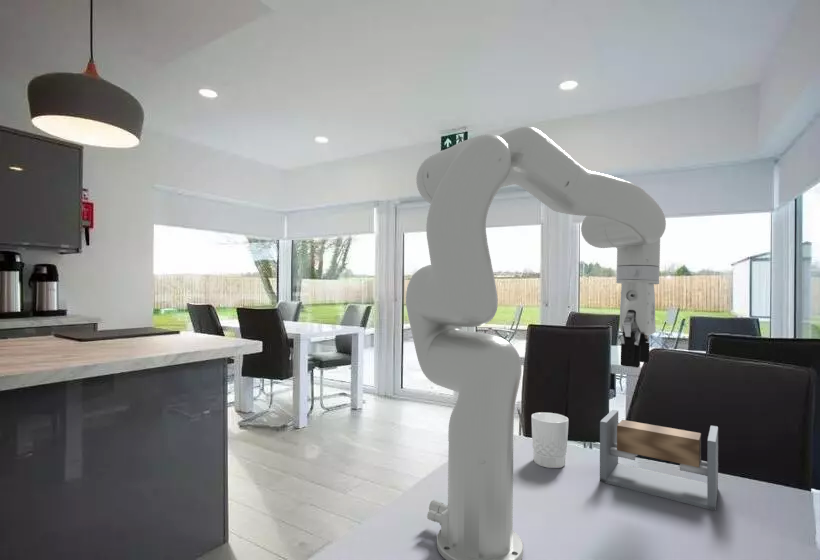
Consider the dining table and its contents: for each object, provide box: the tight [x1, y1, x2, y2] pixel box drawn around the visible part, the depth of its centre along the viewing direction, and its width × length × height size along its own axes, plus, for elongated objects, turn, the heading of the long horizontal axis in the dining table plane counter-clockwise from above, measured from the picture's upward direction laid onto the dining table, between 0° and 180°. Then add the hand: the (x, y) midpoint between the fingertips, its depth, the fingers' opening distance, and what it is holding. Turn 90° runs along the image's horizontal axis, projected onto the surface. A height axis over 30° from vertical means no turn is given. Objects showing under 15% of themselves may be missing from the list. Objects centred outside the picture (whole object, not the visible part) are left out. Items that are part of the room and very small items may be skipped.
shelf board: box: [617, 419, 702, 467], centre depth 88 cm, size 14×5×5 cm, turn 54°
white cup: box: [531, 411, 569, 469], centre depth 99 cm, size 8×8×10 cm
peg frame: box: [599, 409, 719, 511], centre depth 88 cm, size 19×11×12 cm, turn 54°
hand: (635, 363), depth 87 cm, fingers open, 9 cm apart
